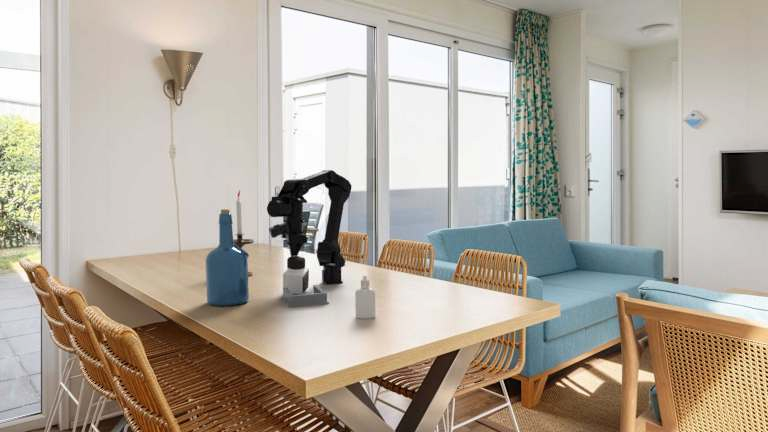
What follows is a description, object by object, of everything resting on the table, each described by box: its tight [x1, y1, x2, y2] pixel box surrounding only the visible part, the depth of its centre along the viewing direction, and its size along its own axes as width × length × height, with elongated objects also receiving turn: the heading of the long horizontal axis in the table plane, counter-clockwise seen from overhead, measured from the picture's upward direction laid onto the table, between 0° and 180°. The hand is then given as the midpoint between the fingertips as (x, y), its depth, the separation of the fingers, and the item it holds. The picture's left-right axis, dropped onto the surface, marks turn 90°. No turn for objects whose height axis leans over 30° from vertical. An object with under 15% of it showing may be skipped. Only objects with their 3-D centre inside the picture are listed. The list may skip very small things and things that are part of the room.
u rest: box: [281, 284, 330, 308], centre depth 179 cm, size 14×13×3 cm
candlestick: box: [233, 189, 254, 278], centre depth 226 cm, size 11×11×35 cm
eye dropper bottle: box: [354, 274, 376, 320], centre depth 157 cm, size 4×6×12 cm
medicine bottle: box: [282, 255, 310, 295], centre depth 190 cm, size 7×7×12 cm
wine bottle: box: [205, 208, 250, 307], centre depth 178 cm, size 14×13×30 cm
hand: (293, 261), depth 192 cm, fingers closed
